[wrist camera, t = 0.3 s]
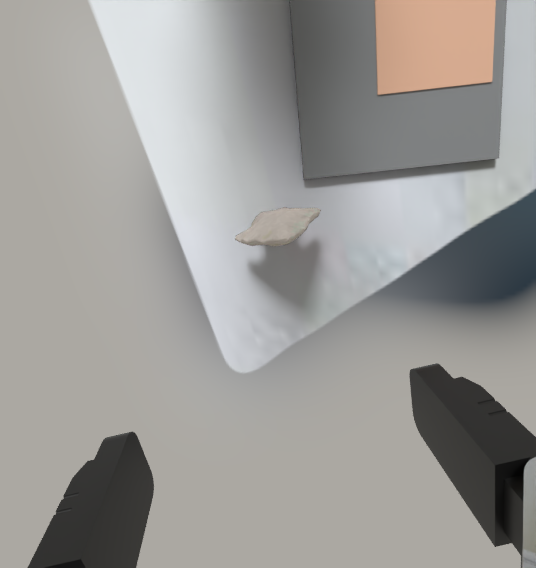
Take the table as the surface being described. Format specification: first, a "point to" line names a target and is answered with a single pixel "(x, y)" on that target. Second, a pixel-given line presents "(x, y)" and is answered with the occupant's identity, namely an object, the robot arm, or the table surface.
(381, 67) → the mat
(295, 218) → the arrowhead
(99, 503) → the robot arm
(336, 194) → the table surface
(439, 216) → the table surface
